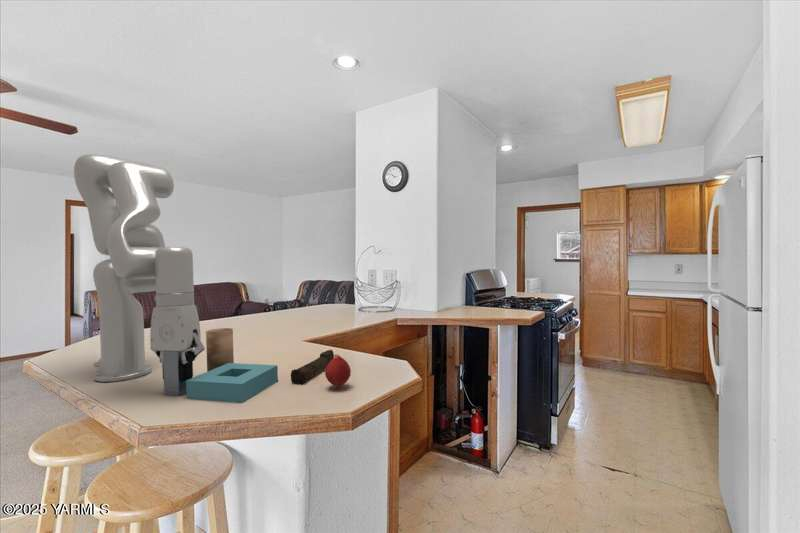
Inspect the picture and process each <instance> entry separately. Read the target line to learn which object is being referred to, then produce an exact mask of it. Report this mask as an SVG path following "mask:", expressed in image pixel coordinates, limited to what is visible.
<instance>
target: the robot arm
mask: <svg viewBox="0 0 800 533" xmlns="http://www.w3.org/2000/svg"><path fill="white" fill-rule="evenodd" d="M73 166H74V167H73V176H74V182H75V185H76V188H77V190H78V193H79V195H80V196H81V198H82V200H83V202H84V204H85V206H86V208H87V212H88V216H89V222H90V223H89V224H90V228H91V233H92V238H93V242H94V247H95V248H96V250H97V252H98V253H99V254H101V255H104V256H109V259H105V260H102V261H100V262H98V263H96V265H94V268H93V271H92V277H93V283H94V286H95V290H96V294H97V300H98V311H99V335H100V339H99V341H100V358H99V359H98V361H95V362H93V364H92V365H93V367H94V368H98V372H96V373H95V374H94V375H93V378H94V379H93V380H94V381H96V382H101V383H108V382H110V383H111V382H119V381H125V380H131V379H135V378H136V379H137V378H140V377H142V376H146V375H147V374H148V375H149V373H151V372H152V371H153V365H151V364H146V351H145V350H146V348H145V347H146V346H145V323H144V321H145V319H144V315H145V314H144V309H143V306H142V304H141V303H140V301H139V300H137V298H136V297H135V296H134V295H133V294H135V293H136V294H137V293H147V292H155V296H154V301H155V304H156V306H154V307H153V309H152V314H151V320H150V329H149V330H150V333H149V345H150V347H149V350H151V351H152V352H153V353H155V354H156V356H157V357H158V358H159V363H160V364H162V366H161V368H162V371H163V351H173V352H180V355H181V360H182V364H180V381H186V380H188V379H191V378H194V369H193V368H194V365H193V364H194V362H195V360H196V358H197V357H198V356H199V355H200V354H201V353H202V352H204V351H205V346H204V344H203V343H202V341H201V325H200V318H199V312H198V308H197V305H195V286H194V260H193V258H194V256H193V252H192V250H191V249H190V248H189V247H184V246H179V247H178V246H167V247H166V244H165V240H164V237H163V234H162V232H161V230H160V229H159V228H158V226H155V225H154V224H152V223H154V222H156V221H157V220H158V219H159V217H160V216H161V209H160V206H159V204H158V201H157V198H158V199H167V198H170V197H171V196H172V195H173V192H174V188H175V184H174V179H173V177H172V175H171V173H170V172H169V171H168V170H167V169H166V168H163V167H160V166H156V165H153V164H151V163H150V164H149V163H147V162H140V161H136V160H131V159H127V158H126V159H125V158H124V159H123V158H122V157H121V158H120V157H114V156H110V155H104V154H93V153H91V154H90V153H89V154H88V153H87V154H83V155H81V156H78V158H77V159H76V160H75V163H74V165H73ZM110 189H111V190H110ZM187 351H188V355H187V353H186V352H187ZM162 381H164V374H163V373H162Z"/></svg>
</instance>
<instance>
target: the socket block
mask: <svg viewBox="0 0 800 533" xmlns="http://www.w3.org/2000/svg"><path fill="white" fill-rule="evenodd" d="M278 368H279V367H278V365H277V364H276V365H275V364H257V363H240V362H239V363H238V362H237V363H235V362H234V363H227V364H225V365H222V366H220V367H218V368H215V369H213V370H210V371H208V372H207V371H206V372H203V373H201V374H199V375H196V376H193V377H192V378H191V379H189V380H186V390H187V393H186V399H188V400H204V401H218V402H231V403H244V402H246V401H248V400H249V399H251V398H252V397H254V396H256V395H258V394H259V393H260V392H262V391H264V390H265V389H267V388H269V387H270V386H272V385H274V384H276V383H277V382H278V381H279V377H278V376H279V375H278V374H279V372H278Z"/></svg>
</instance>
